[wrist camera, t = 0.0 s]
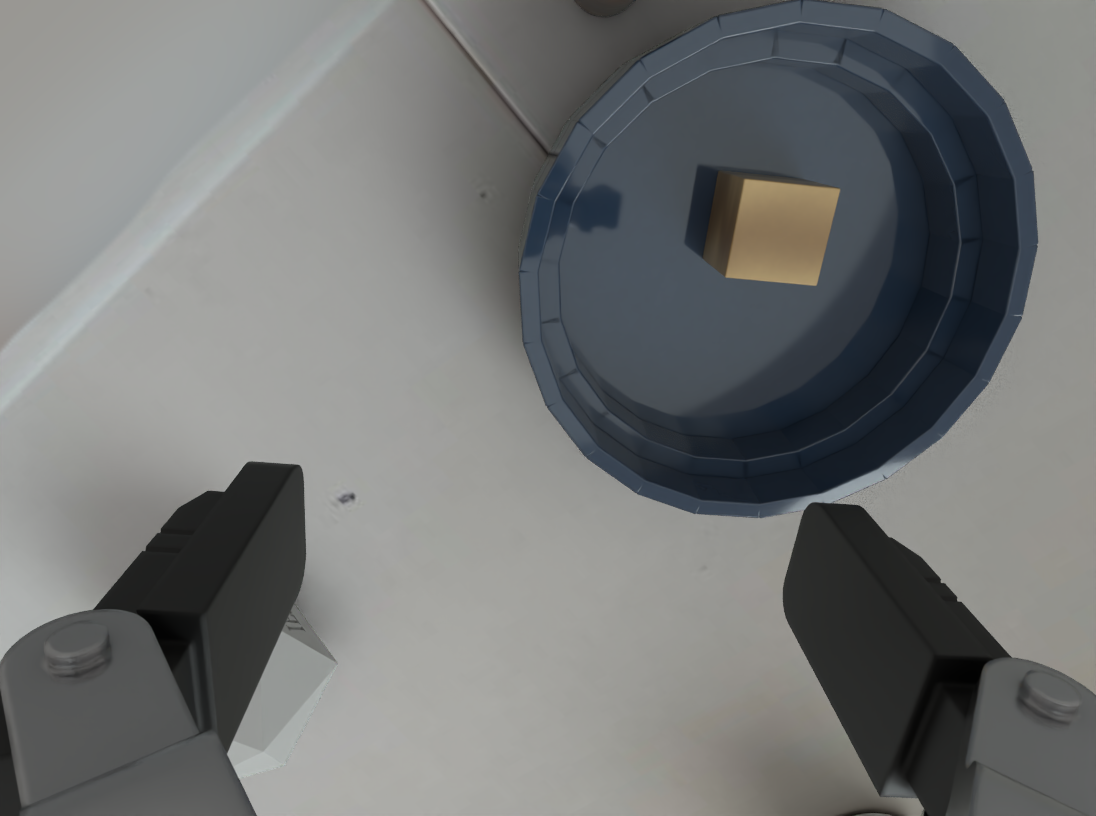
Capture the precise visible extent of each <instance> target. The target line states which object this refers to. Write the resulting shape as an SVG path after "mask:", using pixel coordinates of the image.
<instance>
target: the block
mask: <svg viewBox="0 0 1096 816" xmlns="http://www.w3.org/2000/svg"><path fill="white" fill-rule="evenodd" d="M839 193H840V188H837V187H833V186H829V185H825V184H821V183H817V182H813V181H809V180H805V179H798V178H788V177H779V176H769V175H759V174H750V173H740V172H731V171H721V170H720V171H718V176H717V181H716V187H715V192H714V198H713V203H712V209H711V214H710V220H709V225H708V231H707V236H706V242H705V247H704V253H703V260H705V261H706V262H707V263H708V264H709V265H711V266H712V267H713V268H714V269H716V270H717V271H718V272H719V273H721V274H722V275H723V276H724V277H726V278H735V279H746V280H757V281H768V282H779V283H789V284H800V285H811V286H816V285H817V282H818V278H819V274H820V270H821V266H822V262H823V258H824V254H825V250H826V246H827V242H828V237H829V233H830V229H831V225H832V221H833V217H834V213H835V209H836V205H837V201H838V197H839Z"/></svg>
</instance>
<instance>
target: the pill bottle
mask: <svg viewBox="0 0 1096 816" xmlns="http://www.w3.org/2000/svg"><path fill="white" fill-rule="evenodd" d="M854 816H892V815H888V814H881V813H866V814H859V815H854Z"/></svg>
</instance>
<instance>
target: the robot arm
mask: <svg viewBox="0 0 1096 816" xmlns="http://www.w3.org/2000/svg"><path fill="white" fill-rule="evenodd" d="M305 560H306V539H305V506H304V478H303V472H302V468H301V467H300V465H294V464H280V463H265V462H248V463H246V464H245V466H244V467H243V468H242V470H241V471H240V472H239V474H238V475H237V476H236V478H235V479H234V480H233V482H232V483H231V484H230V485H229V487H228V488H227V489H226V491H225V492H218V491H207V492H205V493H203V494H202V495H200V496H198V497H197V498H195V499H193V500H191V501H190V502H188V503H186V504H184V505H183V506H181V507H179V508H178V509H177V510H176V512H175V513H174V514H173V515H172V516H171V517H170V519H169V520H168V521H167V522H166V523H165V525H164V526H163V527H162V528H161V532H160V533H157V534H156V535H155V537H154V538H153V539H152V540H151V541H150V542H149V544H148V545H147V546H146V551H142V552H141V553H140V554H139V556H138V557H137V558H136V559H135V560H134V562H133V563H132V564H131V565H130V566H129V568H128V569H127V570H126V571H125V572H124V573H123V575H122V576H121V577H120V578H119V579H118V581H117V582H116V583H115V584H114V585H113V587H112V588H111V589H110V590H109V591H108V593H107V594H106V595H105V596H104V597H103V598H102V600H101V601H100V602H99V603H98V604H97V606H96V607H95V608H94V609H93V610H89V611H83V612H78V613H74V614H70V615H67V616H64V617H61V618H58V619H55V620H53V621H50V622H48V623H46V624H44V625H42V626H40V627H38V628H36V629H34V630H32V631H31V632H29V633H28V634H26V635H25V636H23V637H22V638H21V639H20V640H18V641H17V642H16V643H15V644H14V645H13V646H12V647H11V648H10V649H9V650H8V651H7V652H6V654H5V655H4V657H3V659H2V660H1V662H0V816H257V815H256V813H255V811H254V809H253V807H252V805H251V803H250V801H249V799H248V797H247V795H246V792H245V790H244V788H243V786H242V784H241V782H240V780H239V778H238V776H237V774H236V772H235V770H234V767H233V765H232V763H231V761H230V759H229V757H228V755H227V753H228V751H229V748H230V746H231V744H232V742H233V739H234V737H235V735H236V733H237V730H238V728H239V726H240V724H241V721H242V719H243V717H244V715H245V712H246V710H247V708H248V706H249V703H250V701H251V699H252V697H253V694H254V692H255V690H256V688H257V685H258V683H259V681H260V679H261V677H262V674H263V672H264V670H265V668H266V665H267V663H268V661H269V659H270V656H271V654H272V652H273V650H274V647H275V645H276V643H277V641H278V638H279V636H280V634H281V632H282V629H283V627H284V625H285V623H286V620H287V618H288V616H289V614H290V611H291V609H292V607H293V605H294V602H295V600H296V598H297V596H298V593H299V591H300V588H301V584H302V580H303V575H304V569H305ZM783 606H784V612H785V616H786V619H787V621H788V624H789V625H790V627H791V629H792V631H793V633H794V635H795V637H796V639H797V641H798V643H799V644H800V646H801V648H802V650H803V652H804V654H805V656H806V658H807V660H808V661H809V663H810V665H811V667H812V669H813V671H814V673H815V675H816V677H817V678H818V680H819V682H820V684H821V686H822V688H823V690H824V692H825V694H826V695H827V697H828V699H829V701H830V703H831V705H832V707H833V709H834V711H835V712H836V714H837V716H838V718H839V720H840V722H841V724H842V726H843V728H844V729H845V731H846V733H847V735H848V737H849V739H850V741H851V743H852V745H853V746H854V748H855V750H856V752H857V754H858V756H859V758H860V760H861V762H862V764H863V765H864V767H865V769H866V771H867V773H868V775H869V777H870V779H871V781H872V782H873V784H874V786H875V788H876V790H877V792H878V794H879V796H880V797H901V798H918V799H919V801H920V803H921V804H922V806H923V808H924V809H923V811H922V814H921V816H1096V695H1095V694H1094V693H1093V692H1091V691H1090V690H1089V689H1087V688H1086V687H1085V686H1083V685H1082V684H1080V683H1079V682H1077V681H1075V680H1074V679H1072V678H1070V677H1069V676H1067V675H1065V674H1063V673H1061V672H1059V671H1057V670H1055V669H1052V668H1050V667H1048V666H1045V665H1042V664H1039V663H1036V662H1033V661H1029V660H1025V659H1019V658H1012V657H1011V656H1010V655H1009V654H1008V653H1007V652H1006V651H1005V650H1004V649H1003V647H1002V646H1001V645H1000V644H999V643H998V642H997V641H996V640H995V639H994V637H993V636H992V635H991V634H990V633H989V632H988V631H987V630H986V629H985V628H984V626H983V625H982V624H981V623H980V622H979V621H978V620H977V619H976V618H975V616H974V615H973V614H972V613H971V612H970V611H969V610H968V609H967V608H966V606H965V605H964V604H963V603H962V602H957V596H956V595H955V594H954V593H953V592H952V591H951V590H950V589H949V588H948V586H947V585H946V584H945V583H941V579H940V578H939V576H938V575H937V574H936V573H935V572H934V571H933V570H932V569H931V568H930V566H929V565H928V564H927V563H926V562H925V561H924V560H923V559H922V558H921V557H920V556H919V555H917V554H916V553H914V552H913V551H911V550H910V549H908V548H907V547H905V546H904V545H902V544H901V543H899V542H898V541H896V540H895V539H893V538H889V537H888V536H887V535H886V534H885V532H884V531H883V530H882V529H881V528H880V527H879V526H878V524H877V523H876V522H875V521H874V520H873V519H872V517H871V516H870V515H869V514H868V513H867V512H866V511H865V509H864V508H862V507H861V506H859V505H848V504H834V503H820V502H812V503H810V504H809V505H808V506H807V507H806V509H805V510H804V513H803V515H802V519H801V522H800V526H799V530H798V533H797V537H796V541H795V544H794V548H793V552H792V555H791V559H790V563H789V566H788V570H787V574H786V577H785V581H784V587H783Z"/></svg>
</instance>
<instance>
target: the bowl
mask: <svg viewBox="0 0 1096 816" xmlns="http://www.w3.org/2000/svg"><path fill="white" fill-rule="evenodd" d="M569 119H570V120H567V122H566V123H565V125H564V127H563V129H562V131H561V132H560V134H559V136H558V138H557V140H556V142H555V143H554V145H553V147H552V149H551V151H550V152H549V154H548V156H547V158H546V160H545V162H544V163H543V165H542V167H541V169H540V171H539V172H538V174H537V176H536V178H535V180H534V183H533V185H532V190H531V194H530V198H529V203H528V207H527V211H526V216H525V220H524V224H523V229H522V233H521V238H520V242H519V246H518V269H519V288H520V305H521V323H522V340H523V345H524V348H525V351H526V353H527V356H528V359H529V362H530V364H531V367H532V370H533V372H534V375H535V378H536V380H537V383H538V386H539V388H540V391H541V394H542V397H543V399H544V402H545V405H546V406H547V408H548V410H549V411H550V412H551V413H552V415H553V416H554V417H555V419H556V420H557V421H558V422H559V424H560V425H561V426H562V428H563V429H564V430H565V432H566V433H567V434H568V435H569V437H570V438H571V439H572V441H573V442H574V443H575V444H576V446H577V447H578V448H579V450H580V451H581V452H582V454H583V455H584V456H585V457H586V458H587V459H588V460H590V461H591V462H593V463H594V464H595V465H597V466H598V467H600V468H601V469H603V470H604V471H605V472H607V473H608V474H610V475H611V476H612V477H614V478H615V479H617V480H618V481H620V482H621V483H622V484H624V485H625V486H627V487H628V488H629V489H631V490H632V491H634V492H635V493H637V494H638V495H641V496H644V497H647V498H650V499H653V500H656V501H659V502H662V503H665V504H668V505H670V506H673V507H676V508H679V509H682V510H685V511H688V512H691V513H694V514H696V513H697V514H705V515H720V516H735V517H750V518H765V517H770V516H776V515H781V514H787V513H792V512H798V511H803V510H805V509H806V507H807V506H808V505H809V504H810V503H812V502H820V503H833V502H835V501H837V500H840V499H842V498H844V497H847V496H849V495H851V494H853V493H856V492H858V491H860V490H862V489H865V488H867V487H869V486H872V485H874V484H876V483H878V482H881V481H883V480H885V479H887V478H889V477H890V476H891V475H893V474H894V473H895V472H897V471H898V470H899V469H901V468H902V467H903V466H905V465H906V464H907V463H909V462H910V461H911V460H913V459H914V458H916V457H917V456H918V455H920V454H921V453H922V452H924V451H925V450H926V449H928V448H929V447H930V446H932V445H933V444H934V443H936V442H937V441H938V440H940V439H941V438H942V437H943V436H944V435H945V434H946V433H947V432H948V430H949V429H950V428H951V427H952V426H953V425H954V423H955V422H956V421H957V420H958V419H959V418H960V416H961V415H962V414H963V413H964V412H965V411H966V409H967V408H968V407H969V406H970V405H971V404H972V402H973V401H974V400H975V399H976V398H977V396H978V395H979V394H980V393H981V392H982V391H983V389H984V388H985V387H986V386H987V385H988V384H989V382H990V380H991V378H992V376H993V374H994V372H995V370H996V368H997V366H998V364H999V362H1000V360H1001V358H1002V356H1003V354H1004V352H1005V351H1006V349H1007V347H1008V345H1009V343H1010V341H1011V339H1012V337H1013V335H1014V333H1015V331H1016V329H1017V327H1018V325H1019V323H1020V321H1021V319H1022V317H1021V316H1022V315H1023V311H1024V307H1025V302H1026V298H1027V293H1028V288H1029V284H1030V279H1031V275H1032V270H1033V265H1034V261H1035V256H1036V252H1037V247H1038V246H1037V244H1038V231H1037V217H1036V202H1035V187H1034V173H1033V171H1032V166H1031V164H1030V161H1029V159H1028V157H1027V154H1026V152H1025V149H1024V147H1023V144H1022V142H1021V139H1020V137H1019V134H1018V132H1017V129H1016V127H1015V125H1014V122H1013V120H1012V117H1011V115H1010V112H1009V110H1008V107H1007V105H1006V103H1005V102H1004V99H1003V98H1002V97H1001V96H1000V95H999V94H998V92H997V91H996V90H995V89H994V88H993V87H992V86H991V85H990V84H989V82H988V81H987V80H986V79H985V78H984V77H983V76H982V75H981V74H980V73H979V71H978V70H977V69H976V68H975V67H974V66H973V65H972V64H971V63H970V61H969V60H968V59H967V58H966V57H965V56H964V55H963V54H962V53H961V51H960V50H959V49H958V48H957V47H956V46H955V45H954V44H953V43H951V42H949V41H947V40H945V39H943V38H941V37H939V36H937V35H935V34H933V33H931V32H930V31H928V30H926V29H924V28H922V27H920V26H918V25H916V24H914V23H912V22H910V21H908V20H906V19H904V18H902V17H900V16H898V15H897V14H895V13H893V12H891V11H889V10H887V9H882V8H878V7H870V6H862V5H854V4H846V3H838V2H830V1H822V0H789V1H785V2H780V3H775V4H770V5H765V6H760V7H755V8H751V9H746V10H741V11H736V12H731V13H726V14H721V15H718V16H716V17H713V18H710V19H708V20H706V21H704V22H702V23H699V24H697V25H695V26H693V27H691V28H688V29H686V30H684V31H682V32H680V33H679V34H677V35H675V36H673V37H671V38H670V39H668V40H666V41H664V42H662V43H661V44H659V45H657V46H655V47H653V48H652V49H650V50H648V51H646V52H644V53H642V54H641V55H639V56H637V57H635V58H633V59H632V60H630V61H628V62H626V63H624V64H623V65H622V66H621V67H619V68H618V69H617V70H616V71H615V72H614V73H613V74H612V75H611V76H610V77H609V78H608V79H607V80H606V81H605V82H604V83H603V84H602V85H601V86H600V87H599V88H598V89H597V90H596V91H595V92H594V93H593V94H592V95H591V96H590V97H589V98H588V99H587V100H586V101H585V102H584V103H583V104H582V105H581V106H580V107H579V108H578V109H577V110H576V111H575V112H574V113H573V114H572V115H571V116H570V118H569ZM720 170H721V171H731V172H740V173H750V174H759V175H769V176H779V177H788V178H798V179H805V180H809V181H813V182H817V183H821V184H825V185H829V186H833V187H837V188H840V193H839V197H838V201H837V205H836V209H835V213H834V217H833V221H832V225H831V229H830V233H829V237H828V242H827V246H826V250H825V254H824V258H823V262H822V266H821V270H820V274H819V278H818V282H817V285H816V286H811V285H800V284H789V283H779V282H768V281H757V280H746V279H735V278H726V277H724V276H723V275H722V274H721V273H719V272H718V271H717V270H716V269H714V268H713V267H712V266H711V265H709V264H708V263H707V262H706V261H705V260H703V253H704V247H705V242H706V236H707V231H708V225H709V220H710V214H711V209H712V203H713V198H714V192H715V187H716V181H717V176H718V171H720Z"/></svg>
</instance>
